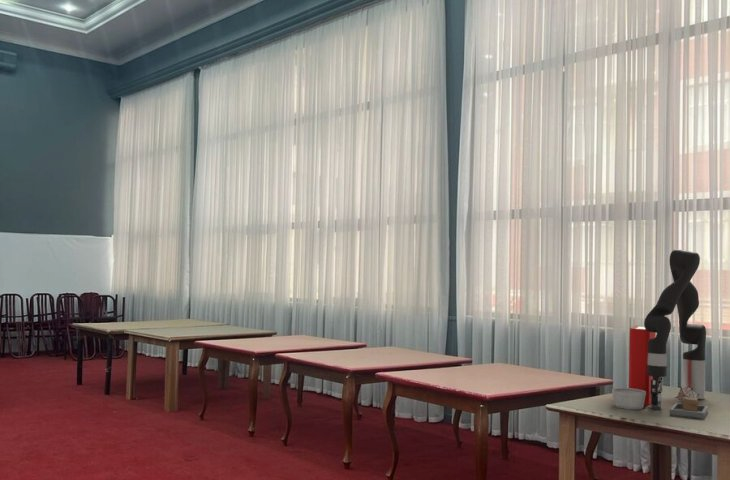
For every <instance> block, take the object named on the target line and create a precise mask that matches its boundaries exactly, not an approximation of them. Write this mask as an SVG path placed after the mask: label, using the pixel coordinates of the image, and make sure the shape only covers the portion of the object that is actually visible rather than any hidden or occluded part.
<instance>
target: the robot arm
mask: <svg viewBox="0 0 730 480" xmlns="http://www.w3.org/2000/svg"><path fill="white" fill-rule="evenodd" d="M700 262H701V257H700V255H699V253H698V252H695V251H690V250H687V249H686V250H685V249H679V248H678V249H673V250H672V251H671V252H670V255H669V268H670V272H671V277H672V280H673V282H672V283H671V284H669V285H668V286H666V287H665V288H664V289H663V291H662V292H661V294H660V296H659V298H658V300H657V301H656V302H657V303H656V305H655V306H654V307H652V308H651V310H650V311H649V313H648V314H646V316H645V318H644V322H643V327H645V329H646V330H647V331H649V332H655V338H652V339H650V340H649V341H648V356H647V375H649V376H653V380H651V392H650V394H651V396H652V405H655V406H657V405H658V393H659V394H662V393H663V378H665V377H667V376H668V375H667V373H668V372H667V370H668V369H667V368H668V367H667V366H668V365H667V364H668V361H667V360H668V358H667V343H668V339H669V337H670V334H671V330H672V322H671V320H670V319H669V318H668V317H667V316H669V315H672V313H674V311H675V309H677V316H678V332H679V333H678V334H679V339H680V342H681V343H682V344H685V345H696V346H697V347H696V348H694V349H692V350H687V351H684V352H683V354H682V388H689V386H690V388H691V389H692V388H693V389H692V390H693V391H694V392H695V393H696V394H700V395H698V396H697V398H698V400H705V396H706V395H705V394H706V340H707V328H706V326H705V325H704V324H701V323H700V324H699V323H697V324H696V323H688V322H689V320H690V318H691V317H692V316H693V315H694V313H696V312H697V309H698V308H699V306H700V301H699V300H700V299H699V293H698V290H697V288H696V286H695V285H694V284H693V282H692V281H691V280H692V278H693V277H694V276H695V273H696V272H697V270H698V269H699V267H700V264H701V263H700ZM653 391H655V392H653Z"/></svg>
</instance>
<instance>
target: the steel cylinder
mask: <svg viewBox="0 0 730 480" xmlns="http://www.w3.org/2000/svg"><path fill="white" fill-rule="evenodd" d="M650 409H652V410H662V393H660V394H659V393H658V405H657V406H655V405H652V396H651V403H650Z"/></svg>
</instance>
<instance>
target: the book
mask: <svg viewBox="0 0 730 480" xmlns="http://www.w3.org/2000/svg"><path fill="white" fill-rule="evenodd" d="M655 337H656V333H655V332H649V331H647V330H646V329H645V326H639V325H637V324H636V325H634V326H631V327H630V328H629V339H628V340H629V349H628V350H629V352H628V353H629V354H628V355H629V357H628V361H629V362H628V388H633V389H639V390H643V391H646V395H645V403H644V407H649V406H651V394H650V392H651V380H653V376H649V375H647V356H648V341H649V340H650V339H652V338H655ZM653 392H655V391H653Z"/></svg>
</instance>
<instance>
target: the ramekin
mask: <svg viewBox="0 0 730 480" xmlns="http://www.w3.org/2000/svg"><path fill="white" fill-rule="evenodd" d="M611 392H612V398H613V399H612V401H613V404H614V406H615V408H620V409H623V408H624V409H625V410H642V409H644V407H645V406H644V403H645V395H646V391H643V390H639V389H633V388H629V387H614V388H612V389H611Z"/></svg>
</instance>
